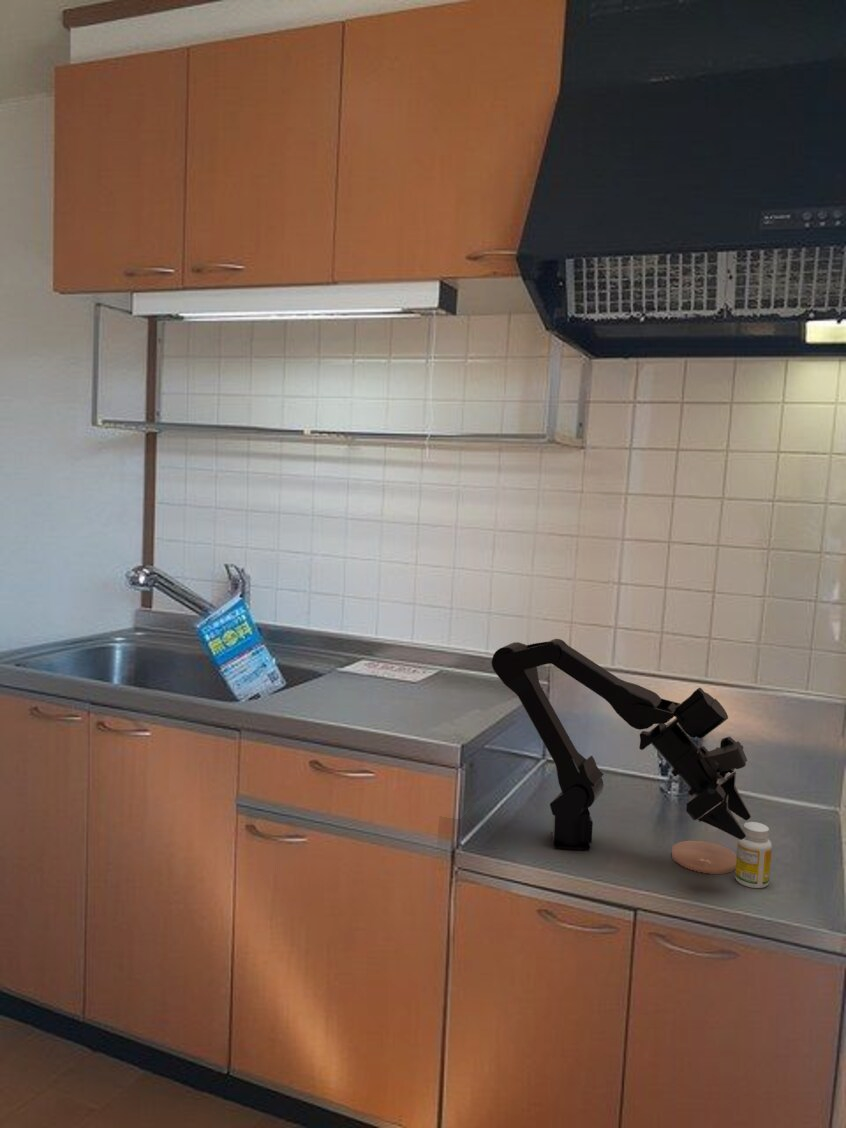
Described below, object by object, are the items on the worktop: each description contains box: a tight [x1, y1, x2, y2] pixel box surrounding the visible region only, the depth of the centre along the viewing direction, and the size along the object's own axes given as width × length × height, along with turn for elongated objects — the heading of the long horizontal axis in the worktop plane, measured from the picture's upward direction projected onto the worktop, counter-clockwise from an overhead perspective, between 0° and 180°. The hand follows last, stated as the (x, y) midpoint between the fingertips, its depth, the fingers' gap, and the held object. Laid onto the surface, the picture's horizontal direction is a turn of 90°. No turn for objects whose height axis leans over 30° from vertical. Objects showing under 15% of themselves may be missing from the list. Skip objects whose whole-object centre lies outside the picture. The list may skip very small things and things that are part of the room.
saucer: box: [671, 840, 737, 875], centre depth 155 cm, size 11×11×1 cm
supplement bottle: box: [734, 821, 773, 889], centre depth 147 cm, size 5×5×10 cm
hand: (746, 828), depth 147 cm, fingers open, 9 cm apart
